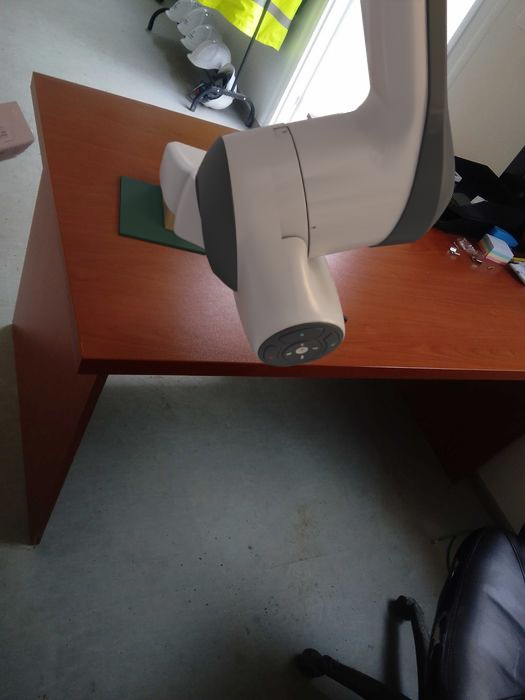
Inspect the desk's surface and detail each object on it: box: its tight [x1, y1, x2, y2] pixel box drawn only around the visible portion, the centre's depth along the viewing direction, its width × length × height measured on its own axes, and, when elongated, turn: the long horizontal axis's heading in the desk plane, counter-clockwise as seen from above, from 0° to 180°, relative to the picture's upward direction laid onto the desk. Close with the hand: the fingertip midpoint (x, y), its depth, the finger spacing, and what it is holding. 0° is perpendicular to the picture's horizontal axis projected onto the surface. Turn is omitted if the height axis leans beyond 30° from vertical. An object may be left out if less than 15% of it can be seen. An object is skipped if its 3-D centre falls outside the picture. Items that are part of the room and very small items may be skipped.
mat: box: [118, 174, 206, 256], centre depth 85 cm, size 22×18×1 cm
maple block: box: [162, 193, 175, 231], centre depth 85 cm, size 5×4×15 cm
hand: (244, 159), depth 54 cm, fingers closed
